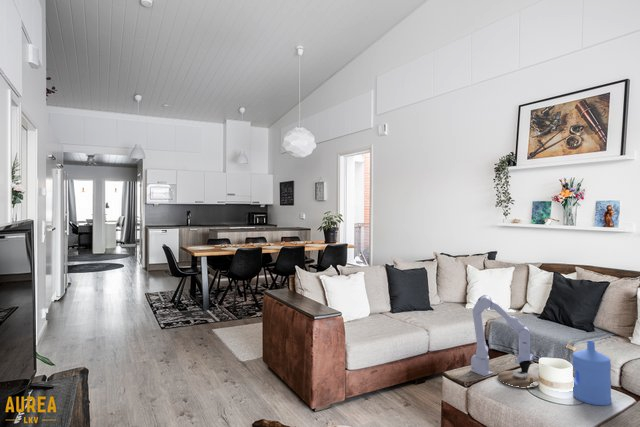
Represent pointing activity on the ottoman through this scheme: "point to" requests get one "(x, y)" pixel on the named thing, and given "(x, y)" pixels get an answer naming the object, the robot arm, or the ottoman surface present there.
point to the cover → (519, 374)
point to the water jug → (592, 376)
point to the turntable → (509, 379)
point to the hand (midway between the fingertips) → (524, 373)
